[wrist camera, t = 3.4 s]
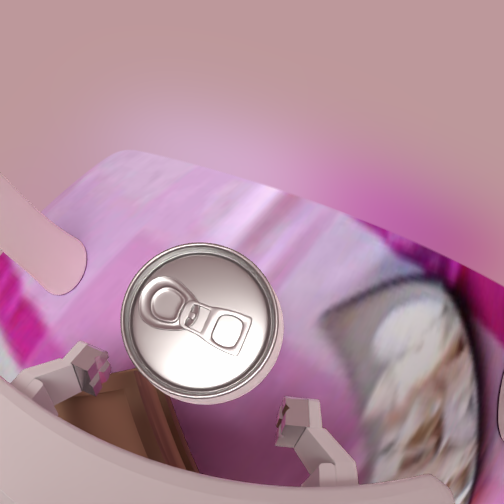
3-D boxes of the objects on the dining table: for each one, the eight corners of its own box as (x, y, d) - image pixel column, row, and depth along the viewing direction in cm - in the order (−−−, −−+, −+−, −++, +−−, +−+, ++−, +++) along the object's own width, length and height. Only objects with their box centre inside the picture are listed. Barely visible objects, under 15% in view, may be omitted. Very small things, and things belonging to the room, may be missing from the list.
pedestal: (159, 364, 19) (138, 361, 15) (211, 497, 14) (204, 524, 10) (46, 385, 17) (13, 382, 13) (89, 502, 12) (64, 519, 8)
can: (199, 294, 22) (159, 210, 11) (276, 324, 21) (315, 267, 10) (166, 367, 19) (84, 356, 8) (245, 401, 18) (250, 439, 7)
